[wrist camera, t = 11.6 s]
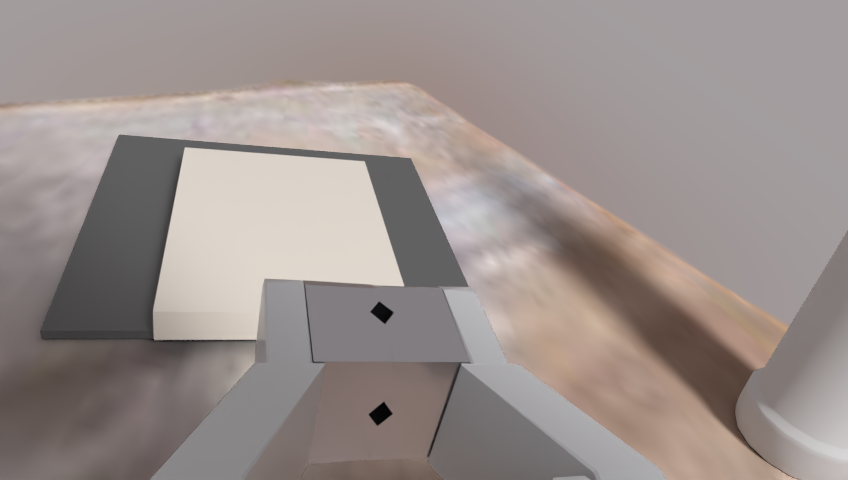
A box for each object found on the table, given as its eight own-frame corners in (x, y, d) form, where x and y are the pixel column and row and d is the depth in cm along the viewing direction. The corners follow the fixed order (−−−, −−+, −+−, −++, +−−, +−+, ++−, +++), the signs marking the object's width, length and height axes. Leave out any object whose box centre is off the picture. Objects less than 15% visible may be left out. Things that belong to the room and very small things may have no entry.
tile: (152, 311, 23) (184, 147, 35) (153, 342, 24) (184, 172, 36) (413, 313, 26) (364, 161, 38) (406, 341, 27) (360, 184, 38)
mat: (41, 338, 24) (40, 330, 24) (119, 140, 38) (119, 134, 38) (486, 337, 29) (488, 330, 29) (409, 163, 43) (410, 158, 43)
